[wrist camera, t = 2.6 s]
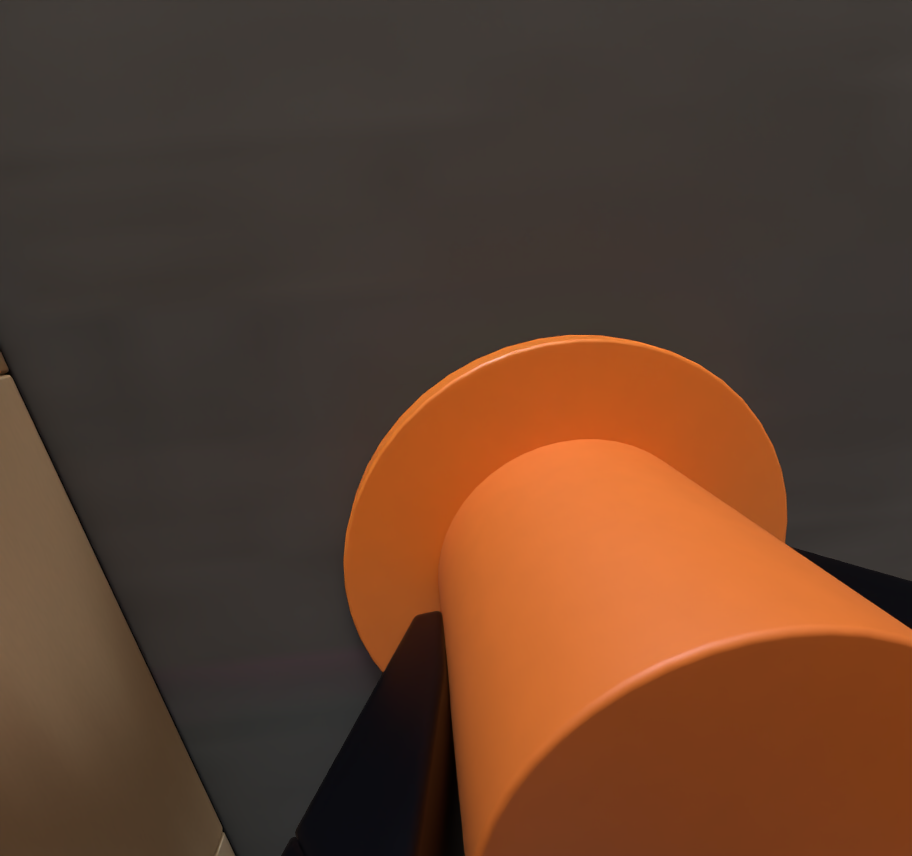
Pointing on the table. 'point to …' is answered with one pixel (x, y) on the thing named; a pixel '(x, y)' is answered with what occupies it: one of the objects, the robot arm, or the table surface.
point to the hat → (629, 616)
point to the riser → (78, 687)
